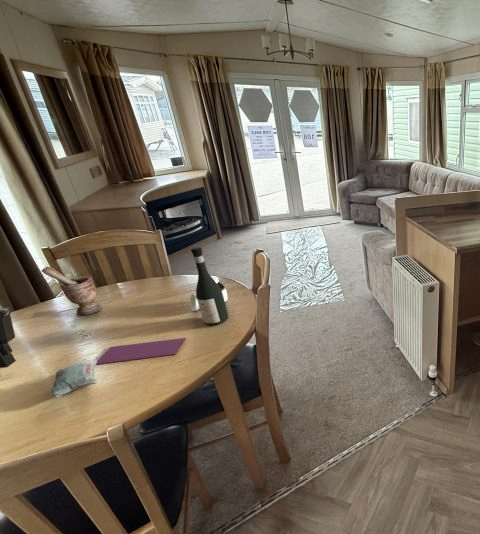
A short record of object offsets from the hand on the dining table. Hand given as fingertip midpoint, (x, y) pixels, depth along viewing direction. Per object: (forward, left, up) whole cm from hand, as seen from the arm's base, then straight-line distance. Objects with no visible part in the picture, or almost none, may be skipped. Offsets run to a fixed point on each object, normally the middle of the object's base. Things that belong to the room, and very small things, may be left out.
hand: (8, 364), depth 91 cm
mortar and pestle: (-10, +45, -10) cm, 47 cm away
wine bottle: (+41, +27, -10) cm, 50 cm away
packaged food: (+13, 0, -10) cm, 16 cm away
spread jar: (+35, +39, -10) cm, 53 cm away
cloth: (+23, +13, -10) cm, 28 cm away
